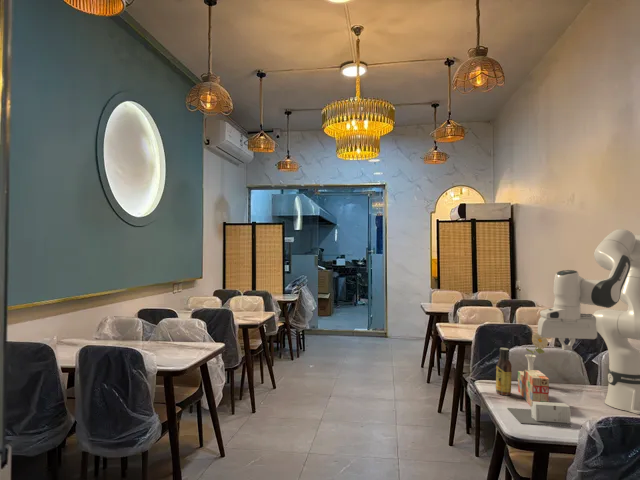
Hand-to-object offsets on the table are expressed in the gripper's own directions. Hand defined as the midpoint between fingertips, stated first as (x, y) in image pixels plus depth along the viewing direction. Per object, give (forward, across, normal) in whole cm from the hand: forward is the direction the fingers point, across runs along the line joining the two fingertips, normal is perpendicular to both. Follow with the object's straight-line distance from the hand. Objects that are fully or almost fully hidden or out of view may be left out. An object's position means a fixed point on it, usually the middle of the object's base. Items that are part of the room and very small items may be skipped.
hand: (567, 349), depth 159 cm
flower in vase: (+26, -3, -42) cm, 50 cm away
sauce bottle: (+26, +15, -26) cm, 39 cm away
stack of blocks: (+26, +5, -20) cm, 33 cm away
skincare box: (+22, +2, +4) cm, 22 cm away
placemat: (+25, +11, +1) cm, 28 cm away
